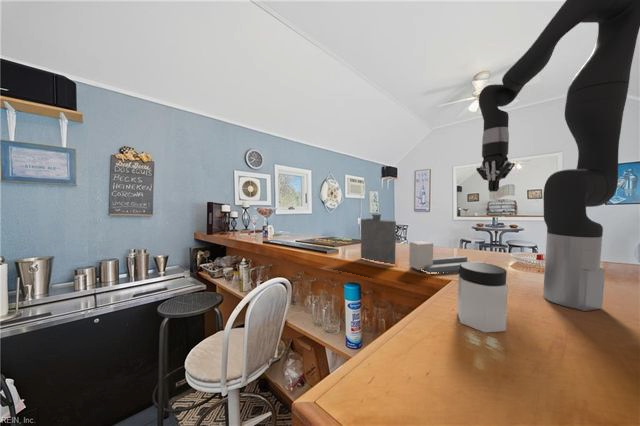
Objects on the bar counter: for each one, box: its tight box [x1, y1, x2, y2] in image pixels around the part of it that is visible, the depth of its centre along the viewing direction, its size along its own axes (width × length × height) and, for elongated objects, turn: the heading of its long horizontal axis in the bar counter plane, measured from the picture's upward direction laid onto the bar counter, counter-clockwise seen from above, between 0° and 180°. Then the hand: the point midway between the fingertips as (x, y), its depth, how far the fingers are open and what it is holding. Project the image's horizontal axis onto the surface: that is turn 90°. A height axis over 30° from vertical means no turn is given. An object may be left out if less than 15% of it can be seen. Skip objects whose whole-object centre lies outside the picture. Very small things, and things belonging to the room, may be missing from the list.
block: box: [408, 240, 434, 271], centre depth 83 cm, size 5×6×9 cm
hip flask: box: [360, 213, 397, 265], centre depth 94 cm, size 16×4×20 cm, turn 42°
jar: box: [456, 261, 509, 333], centre depth 49 cm, size 9×8×12 cm
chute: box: [422, 255, 486, 274], centre depth 86 cm, size 10×24×2 cm, turn 103°
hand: (493, 191), depth 83 cm, fingers closed
